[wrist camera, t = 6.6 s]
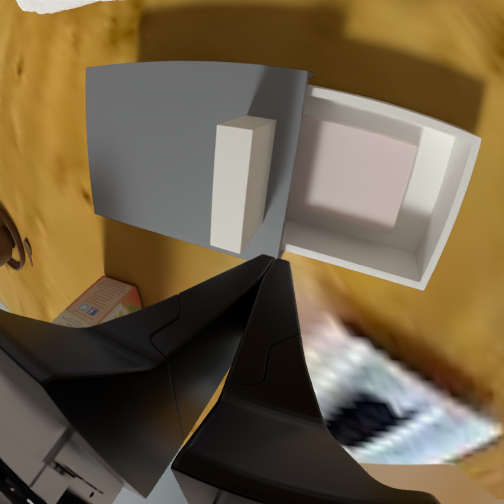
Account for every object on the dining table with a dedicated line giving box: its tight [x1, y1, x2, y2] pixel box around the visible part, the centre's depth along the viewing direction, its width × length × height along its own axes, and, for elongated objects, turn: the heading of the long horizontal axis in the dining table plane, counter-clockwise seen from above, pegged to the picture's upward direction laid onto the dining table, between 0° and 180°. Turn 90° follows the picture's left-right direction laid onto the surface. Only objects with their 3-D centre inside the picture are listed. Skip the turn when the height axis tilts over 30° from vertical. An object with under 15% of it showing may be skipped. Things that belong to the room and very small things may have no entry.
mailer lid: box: [86, 61, 314, 260], centre depth 17 cm, size 15×12×6 cm
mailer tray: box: [281, 84, 482, 291], centre depth 18 cm, size 14×10×4 cm
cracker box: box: [51, 276, 143, 328], centre depth 29 cm, size 14×6×21 cm, turn 179°
